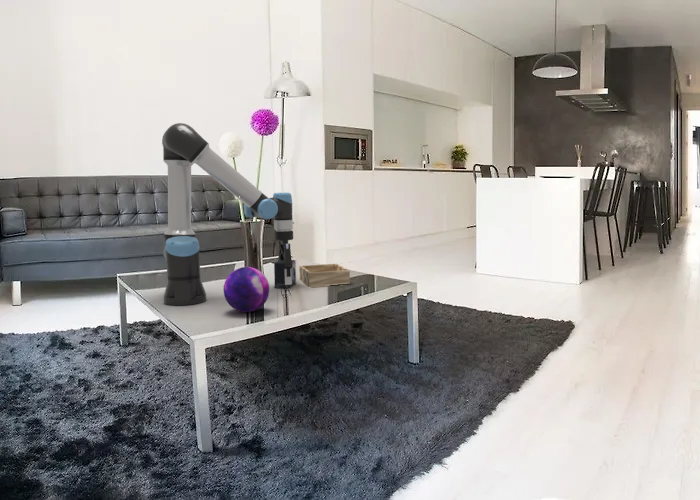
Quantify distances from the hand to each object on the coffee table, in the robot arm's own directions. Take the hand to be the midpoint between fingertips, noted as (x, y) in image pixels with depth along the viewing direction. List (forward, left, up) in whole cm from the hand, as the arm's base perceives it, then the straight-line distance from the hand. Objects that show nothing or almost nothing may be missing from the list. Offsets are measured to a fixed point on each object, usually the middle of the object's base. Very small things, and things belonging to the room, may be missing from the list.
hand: (285, 281), depth 237 cm
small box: (0, 0, -2) cm, 2 cm away
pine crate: (+3, -17, -2) cm, 17 cm away
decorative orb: (-42, +20, -2) cm, 47 cm away
